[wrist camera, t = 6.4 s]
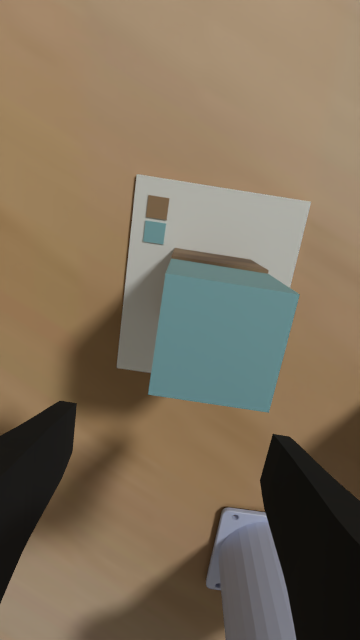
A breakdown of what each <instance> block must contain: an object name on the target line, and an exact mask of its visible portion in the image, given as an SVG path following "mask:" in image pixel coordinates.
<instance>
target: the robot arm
mask: <svg viewBox="0 0 360 640" xmlns="http://www.w3.org/2000/svg"><path fill="white" fill-rule="evenodd" d="M76 405H77V403H71V402H64V401H59V402H57V403H55V404H54V405H52V406H50V407H49V408H47V409H46V410H44V411H42V412H41V413H39V414H38V415H36V416H34V417H33V418H31V419H29V420H28V421H26V422H24V423H23V424H21V425H19V426H18V427H16V428H14V429H12V430H10V431H9V432H7V433H5V434H3V435H1V436H0V603H1V600H2V598H3V596H4V593H5V591H6V588H7V586H8V584H9V581H10V579H11V577H12V574H13V572H14V570H15V568H16V565H17V563H18V561H19V558H20V556H21V554H22V552H23V549H24V547H25V545H26V543H27V541H28V539H29V537H30V536H31V534H32V532H33V530H34V528H35V526H36V525H37V523H38V521H39V519H40V517H41V515H42V514H43V512H44V510H45V508H46V506H47V505H48V503H49V501H50V499H51V497H52V495H53V494H54V492H55V490H56V488H57V486H58V484H59V482H60V481H61V479H62V477H63V474H64V472H65V469H66V467H67V464H68V462H69V459H70V456H71V454H72V450H73V439H74V428H75V416H76ZM260 483H261V490H262V497H263V503H264V509H265V512H259V511H252V510H244V509H237V508H230V507H227V508H224V509H223V510H222V512H221V517H220V521H219V525H218V530H217V534H216V538H215V543H214V547H213V551H212V556H211V560H210V564H209V569H208V573H207V577H206V586H207V587H208V588H209V589H215V590H221V595H222V606H223V616H224V627H225V638H226V640H360V501H359V500H358V499H357V498H356V497H354V496H353V495H352V494H351V493H350V492H349V491H347V490H346V489H345V488H344V487H343V486H342V485H340V484H339V483H338V482H337V481H336V480H335V479H334V478H333V477H332V476H331V475H330V474H328V473H327V472H326V471H325V470H324V469H323V468H322V467H321V466H320V465H319V464H318V463H317V462H316V461H315V460H314V459H313V458H312V457H311V456H310V455H309V454H308V453H307V452H306V451H305V450H303V449H302V448H301V447H300V446H299V445H298V444H297V443H296V442H295V441H294V440H293V439H292V438H290V437H288V436H282V435H275V434H273V436H272V439H271V443H270V446H269V450H268V454H267V457H266V461H265V464H264V468H263V472H262V475H261V479H260ZM233 515H236V516H233Z"/></svg>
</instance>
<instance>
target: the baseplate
mask: <svg viewBox="0 0 360 640" xmlns="http://www.w3.org/2000/svg"><path fill="white" fill-rule="evenodd" d="M310 204H311V202H309V201H303V200H296V199H290V198H284V197H277V196H271V195H265V194H259V193H252V192H246V191H240V190H233V189H227V188H221V187H214V186H208V185H202V184H196V183H189V182H183V181H177V180H170V179H164V178H158V177H151V176H145V175H139V174H137V177H136V186H135V196H134V206H133V215H132V225H131V234H130V244H129V253H128V263H127V272H126V282H125V292H124V301H123V311H122V320H121V330H120V339H119V349H118V358H117V368H120V369H127V370H134V371H141V372H148V373H151V371H152V364H153V357H154V350H155V343H156V336H157V329H158V322H159V315H160V308H161V301H162V294H163V287H164V280H165V273H166V271H167V268H168V266H169V263H170V261H171V255H172V253H173V251H174V249H175V248H180V249H186V250H193V251H199V252H206V253H212V254H219V255H225V256H232V257H238V258H245V259H251V260H253V261H254V262H256V263H257V264H259V265H261V266H262V267H264V268H266V269H267V270H269V272H268V274H269V275H271V276H272V277H274V278H275V279H277V280H278V281H280V282H281V283H283V284H284V285H286V286H288V287H289V288H290V286H291V282H292V277H293V273H294V269H295V265H296V261H297V257H298V253H299V249H300V245H301V241H302V237H303V233H304V229H305V225H306V220H307V216H308V212H309V208H310Z"/></svg>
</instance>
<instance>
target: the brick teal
mask: <svg viewBox="0 0 360 640" xmlns="http://www.w3.org/2000/svg"><path fill="white" fill-rule="evenodd" d="M299 295H300V294H298V293H297V292H295V291H294V290H292V289H291V288H289V287H288V286H286V285H284V284H283V283H281V282H280V281H278V280H277V279H275V278H274V277H272V276H271V275H269V274H266V273H260V272H254V271H247V270H241V269H235V268H228V267H222V266H216V265H210V264H203V263H197V262H191V261H184V260H178V259H172V258H171V261H170V263H169V266H168V268H167V271H166V273H165V280H164V287H163V294H162V301H161V308H160V315H159V322H158V329H157V336H156V343H155V350H154V357H153V364H152V371H151V378H150V385H149V392H148V395H155V396H161V397H168V398H175V399H182V400H188V401H195V402H202V403H208V404H215V405H222V406H229V407H235V408H242V409H249V410H256V411H262V412H269V410H270V406H271V402H272V398H273V394H274V391H275V387H276V383H277V379H278V375H279V371H280V368H281V364H282V360H283V356H284V352H285V348H286V345H287V341H288V337H289V333H290V329H291V326H292V322H293V318H294V314H295V310H296V306H297V303H298V299H299Z"/></svg>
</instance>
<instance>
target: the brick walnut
mask: <svg viewBox="0 0 360 640" xmlns="http://www.w3.org/2000/svg"><path fill="white" fill-rule="evenodd" d="M171 258H172V259H178V260H184V261H191V262H197V263H203V264H210V265H216V266H222V267H228V268H235V269H241V270H247V271H254V272H260V273H266V274H268V272H269V270H267V269H266V268H264V267H262V266H261V265H259V264H257V263H256V262H254V261H253V260H251V259H245V258H238V257H232V256H225V255H219V254H212V253H206V252H199V251H193V250H186V249H180V248H175V249H174V251H173V253H172V255H171Z"/></svg>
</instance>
